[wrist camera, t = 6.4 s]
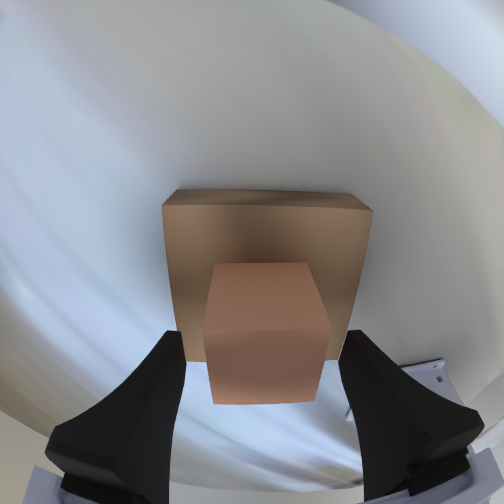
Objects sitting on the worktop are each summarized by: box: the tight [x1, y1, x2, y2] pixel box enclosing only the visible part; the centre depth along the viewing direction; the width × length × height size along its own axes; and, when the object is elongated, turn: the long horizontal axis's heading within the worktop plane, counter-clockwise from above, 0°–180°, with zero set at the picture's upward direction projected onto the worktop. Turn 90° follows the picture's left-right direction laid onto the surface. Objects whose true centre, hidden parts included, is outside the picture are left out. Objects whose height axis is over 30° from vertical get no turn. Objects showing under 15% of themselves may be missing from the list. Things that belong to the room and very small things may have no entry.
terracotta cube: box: [202, 262, 332, 405], centre depth 13 cm, size 4×4×5 cm
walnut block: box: [162, 190, 373, 362], centre depth 16 cm, size 10×10×4 cm
